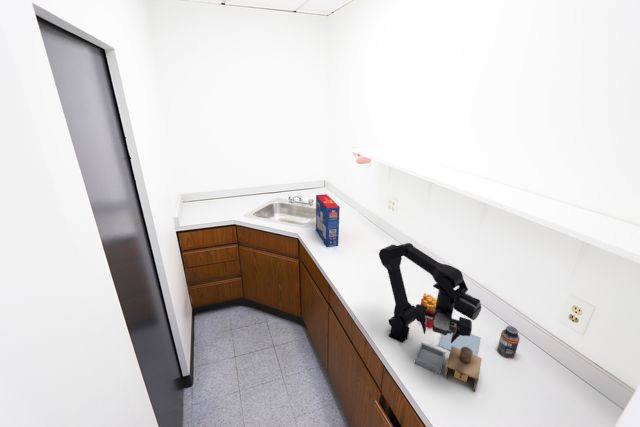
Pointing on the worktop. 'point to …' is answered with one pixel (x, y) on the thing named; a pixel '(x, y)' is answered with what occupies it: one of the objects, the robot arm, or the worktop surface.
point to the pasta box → (327, 220)
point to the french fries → (429, 307)
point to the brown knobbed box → (464, 363)
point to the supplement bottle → (508, 342)
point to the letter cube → (460, 376)
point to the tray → (430, 358)
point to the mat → (460, 342)
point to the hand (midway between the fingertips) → (437, 337)
